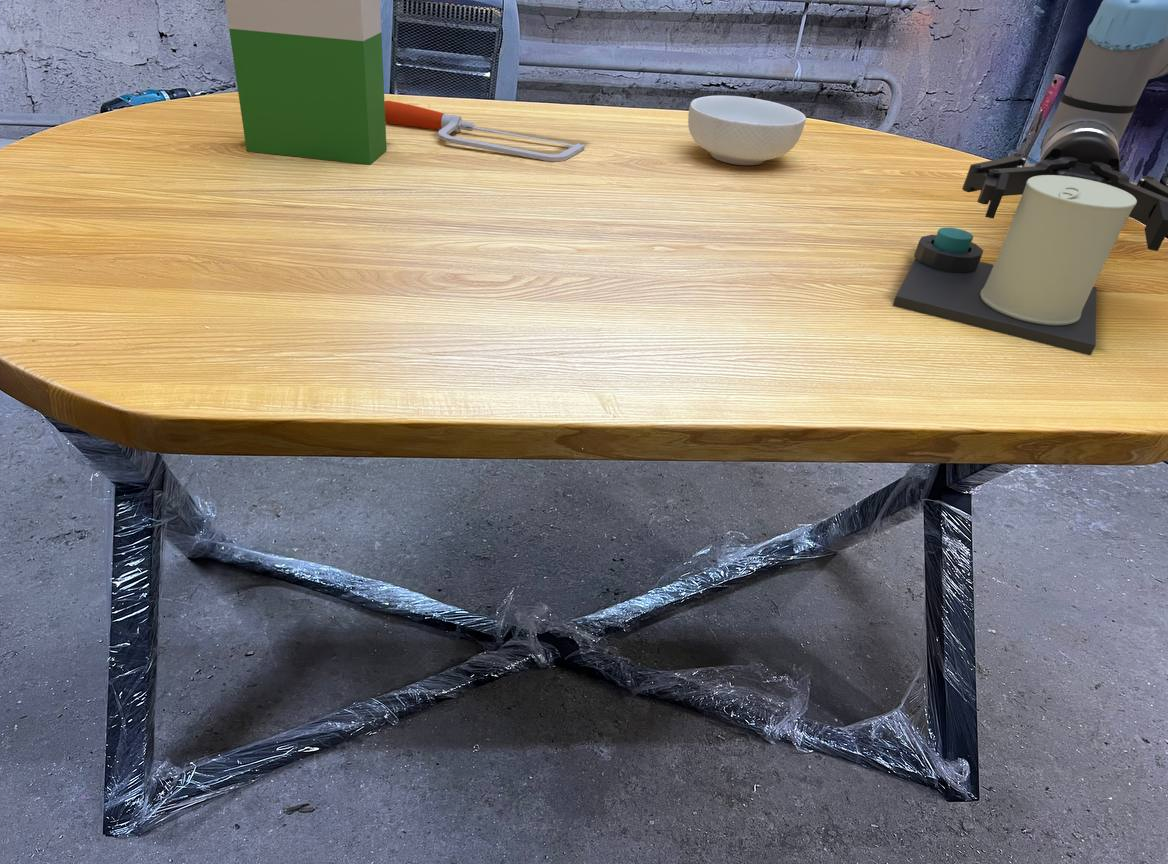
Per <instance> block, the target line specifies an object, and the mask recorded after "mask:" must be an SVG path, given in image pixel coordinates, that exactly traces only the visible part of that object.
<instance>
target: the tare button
mask: <svg viewBox="0 0 1168 864" xmlns="http://www.w3.org/2000/svg"><path fill="white" fill-rule="evenodd" d="M935 235H936V238H935V240H934V243H933V245H934V246H935V247H936V248H939V249H941V250H945V251H949V252H953V253H967V252H968V250H969V247H970V245H971V242H972V243H973V240H974V235H973V234H972V233H970V232H969V231H967V230H964V229H960V228H955V227H940V228H939V229H938V230H937V232H936V234H935Z"/></svg>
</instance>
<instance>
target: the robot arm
mask: <svg viewBox="0 0 1168 864" xmlns="http://www.w3.org/2000/svg"><path fill="white" fill-rule="evenodd" d="M1086 32H1087V33H1086V37H1085V39H1084V41H1083V45H1082V47H1081V49H1080V52H1079V54H1078V57H1077V59H1076V62H1075V65H1074V67H1073V69H1072V72H1071V74H1070V77H1069V79H1068V82H1067V85H1066V86H1065V89H1064V92H1063V94H1062V96H1061V99H1060V101H1059V103H1058V105H1057V108H1056V110H1055V113H1054V115H1053V117H1052V120H1051V123H1050V125H1049V126H1047V128H1046V130H1045V133H1044V136H1043V138H1042V140H1041V143H1040V147H1039V148H1040V157H1039V161H1038V162H1037V163H1035V164H1032V163H1026V162H1027V160H1028V159H1027V158H1026V157H1024V155H1023V154H1022V153H1020V152H1015V153H1014V152H1013V153H1011V154H1009V156H1006V157H1005V156H1004V157H1001V158H997V159H996V158H995V159H992V160H987V161H981V162H977V163H973V164H970V166H969V168H968V171H967V174H966V177H965V179H964V183H963V185H962V188H961V190H962V191H963V192H966V193H971V192H972V193H974V192H978V191H980V193H979V195H978V198H977V201H976V202H977V203H978V204H981V205H988V207H987V210H986V213H985V216H984V217H985V218H988V219H995V217H996V214H997V211H998V208H999V206H1000V203H1001V201H1002V198H1003V197H1007V196H1010V197H1011V196H1022V195H1023V192H1024V189H1025V187H1026V182H1027V180H1028V179H1029V178H1031V177H1034V176H1040V175H1059V176H1069V177H1076V178H1082V179H1087V180H1092V181H1096V182H1100V183H1104V184H1107V185H1111V186H1113V187H1116V188H1119V189H1122V190H1124V191H1126V192H1128V193H1130V194H1131V195H1133V196H1134V197H1135V198H1136V200H1137V203H1136V205H1135V206H1134V208H1133V209H1132V211H1131V213H1130V215H1129V217H1128V218H1132V219H1134V220H1136V221H1138V222H1140V223H1142V224H1144V225H1145V226H1144V234H1145V239H1146V246H1147V250H1151V251H1155V252H1159V249H1160V247H1161V246H1162V243H1163V241H1164V240H1165V238H1166V236H1168V186H1166V185H1164V184H1163V183H1161V182H1160V181H1159V180H1158V178H1157V177H1154V176H1152V175H1144V176H1143V177H1142V178H1139V179H1138V181H1137V182H1133V181H1130V176H1128V175H1127V174H1125V173H1122V172H1121V157H1120V148H1119V145H1120V142H1121V140H1122V138H1123V136H1124V133H1125V131H1126V129H1127V127H1128V124H1129V123H1130V121H1131V118H1132V116H1133V113H1134V111H1135V110H1136V107H1137V104H1138V102H1139V100H1140V98H1141V96H1142V94H1143V91H1144V90H1145V87H1146V85H1147V84H1148V82H1149V80H1153V79H1158V78H1160V77H1164V76H1166V75H1168V0H1102V1H1101V3H1100V6H1099V7H1098V9H1097V12H1096V14H1095V16H1094V17H1093V20H1092V22H1091V23H1090V24H1089V25H1088V27H1087V31H1086Z"/></svg>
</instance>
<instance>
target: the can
mask: <svg viewBox="0 0 1168 864" xmlns="http://www.w3.org/2000/svg"><path fill="white" fill-rule="evenodd" d="M1136 203H1137V200H1136V198H1135V197H1134V196H1133V195H1131V194H1130V193H1128V192H1126V191H1124V190H1122V189H1119V188H1116V187H1113V186H1111V185H1107V184H1104V183H1100V182H1096V181H1092V180H1087V179H1082V178H1076V177H1069V176H1059V175H1040V176H1034V177H1031V178H1029V179H1028V180H1027V182H1026V187H1025V189H1024V192H1023V194H1022V195H1021V197H1020V200H1019V203H1018V205H1017V208H1016V210H1015V213H1014V214H1013V217H1012V220H1011V222H1010V225H1009V227H1008V230H1007V232H1006V234H1005V237H1004V240H1003V242H1002V244H1001V247H1000V249H999V251H998V255H997V256H996V259H995V261H994V263H993V265H994V266H993V268H992V271H991V273H990V275H989V277H988V279H987V282H986V284H985V286H984V288H983V289H982V290H981V293H980V296H981V299H982V300H983V302H984V303H985V304H987V305H988V306H989V307H991V308H992V309H994V310H996V311H998V312H1000V313H1002V314H1004V315H1007V316H1009V317H1012V318H1015V319H1018V320H1022V321H1026V322H1030V323H1035V324H1041V325H1052V326H1062V325H1069V324H1072V323H1075V322H1077V321H1078V320H1079V319H1080V317H1081V312H1082V310H1083V307H1084V305H1085V303H1086V301H1087V299H1088V297H1089V294H1090V292H1091V290H1092V288H1093V287H1094V286H1095V284H1096V282H1097V280H1098V278H1099V276H1100V274H1101V272H1102V270H1103V268H1104V266H1105V264H1106V261H1107V260H1108V258H1109V256H1110V254H1111V252H1112V250H1113V247H1114V246H1115V244H1116V242H1117V240H1118V238H1119V236H1120V234H1121V232H1122V230H1123V228H1124V226H1125V224H1126V222H1127V221H1128V218H1130V217H1129V215H1130V213H1131V211H1132V209H1133V208H1134V206H1135V205H1136Z"/></svg>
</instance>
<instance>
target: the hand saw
mask: <svg viewBox="0 0 1168 864" xmlns="http://www.w3.org/2000/svg"><path fill="white" fill-rule="evenodd" d="M384 102H385V123H387V124H389V123H390V124H394V125H401V126H406V127H415V128H421V129H430V130H431V129H432V130H438V132H437V138H438V139H439V140H441V141H443V142H445V143H449V144H455V145H460V146H466V147H470V148H477V149H481V150H486V151H492V152H497V153H502V154H508V155H513V156H518V157H524V158H530V159H533V160H534V159H535V160H541V161H546V162H564V161H566V160H569V159H570V158H572V157H573V156H576V155H577V154H579V153H580V152H582V151H584V150H585V148H586V145H585V144H582V143H576V144H573V143H572V144H571V143H566V142H560V141H555V140H550V139H544V138H538V137H534V136H533V137H532V136H528V135H523V134H517V133H511V132H507V131H501V130H495V129H490V128H484V127H479V126H475V125H474V122H472V121H468V120H463V119H462V116H461V115H458V114H457V115H456V114H448V113H445V112H444V113H443V112H440V111H437V110H433V109H429V108H425V107H420V106H416V105H413V104H409V103H404V102H399V101H392V100H384ZM474 129H476V130H481V131H488V132H493V133H497V134H503V135H508V136H513V137H520V138H524V139H531V140H537V141H541V142H547V143H554V144H559V145H564V146H570V147H569V148H567V149H566V150H564V151H562V152H561V153H555V154H553V153H552V154H550V153H544V152H538V151H534V150H528V149H522V148H517V147H512V146H506V145H501V144H497V143H496V144H495V143H489V142H485V141H478V140H473V139H469V138H462V137H457V136H453V135H450V134H451V133H456V134H459V133H460V132H461V130H463V131H467V132H472V131H473V130H474Z"/></svg>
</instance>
